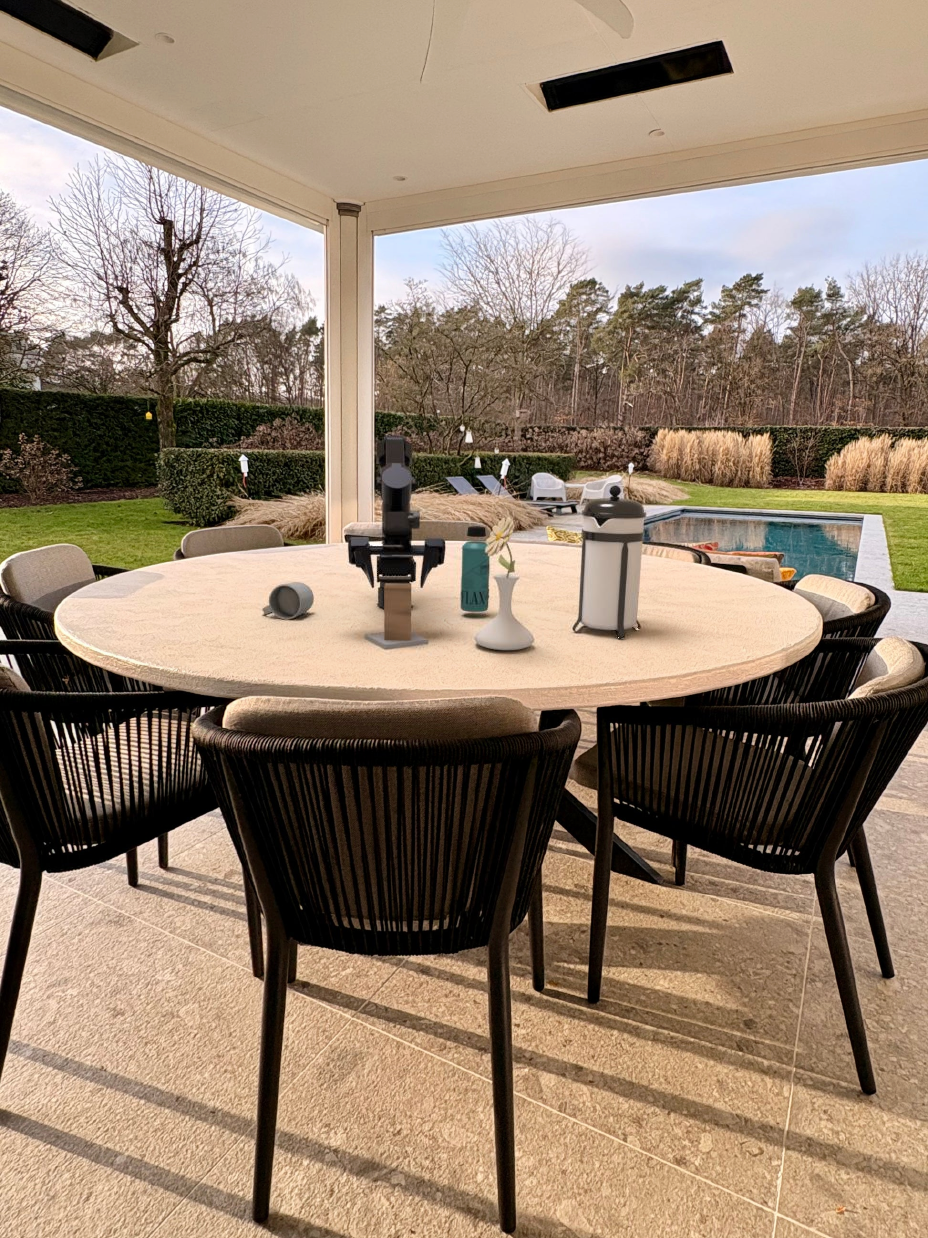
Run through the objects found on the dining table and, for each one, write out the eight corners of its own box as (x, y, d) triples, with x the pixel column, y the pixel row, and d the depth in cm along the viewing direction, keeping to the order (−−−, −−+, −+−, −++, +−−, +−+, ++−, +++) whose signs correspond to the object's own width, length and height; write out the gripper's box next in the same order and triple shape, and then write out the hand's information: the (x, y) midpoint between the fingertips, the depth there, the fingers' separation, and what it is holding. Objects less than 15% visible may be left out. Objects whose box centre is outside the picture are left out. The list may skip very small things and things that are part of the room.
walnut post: (385, 633, 152) (385, 583, 149) (411, 633, 152) (411, 583, 150) (384, 640, 147) (384, 588, 144) (410, 640, 147) (411, 588, 145)
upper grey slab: (406, 634, 156) (406, 629, 156) (428, 644, 148) (428, 639, 148) (364, 639, 151) (364, 634, 151) (385, 650, 144) (385, 644, 144)
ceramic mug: (316, 613, 174) (315, 579, 173) (301, 620, 166) (300, 585, 165) (272, 611, 176) (270, 577, 175) (256, 618, 169) (254, 583, 167)
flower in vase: (474, 639, 154) (477, 511, 148) (532, 640, 153) (537, 513, 148) (473, 657, 141) (476, 518, 135) (536, 658, 141) (542, 519, 135)
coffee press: (659, 639, 157) (671, 487, 150) (583, 640, 154) (591, 487, 147) (628, 619, 173) (637, 483, 167) (558, 621, 171) (565, 482, 164)
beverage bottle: (455, 617, 173) (456, 526, 168) (466, 611, 179) (468, 524, 174) (482, 620, 170) (485, 528, 166) (493, 614, 176) (495, 525, 172)
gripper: (347, 494, 148) (345, 561, 140) (445, 496, 150) (449, 561, 142) (349, 531, 158) (348, 595, 149) (441, 532, 159) (445, 595, 151)
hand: (397, 586), depth 148 cm, fingers open, 9 cm apart
